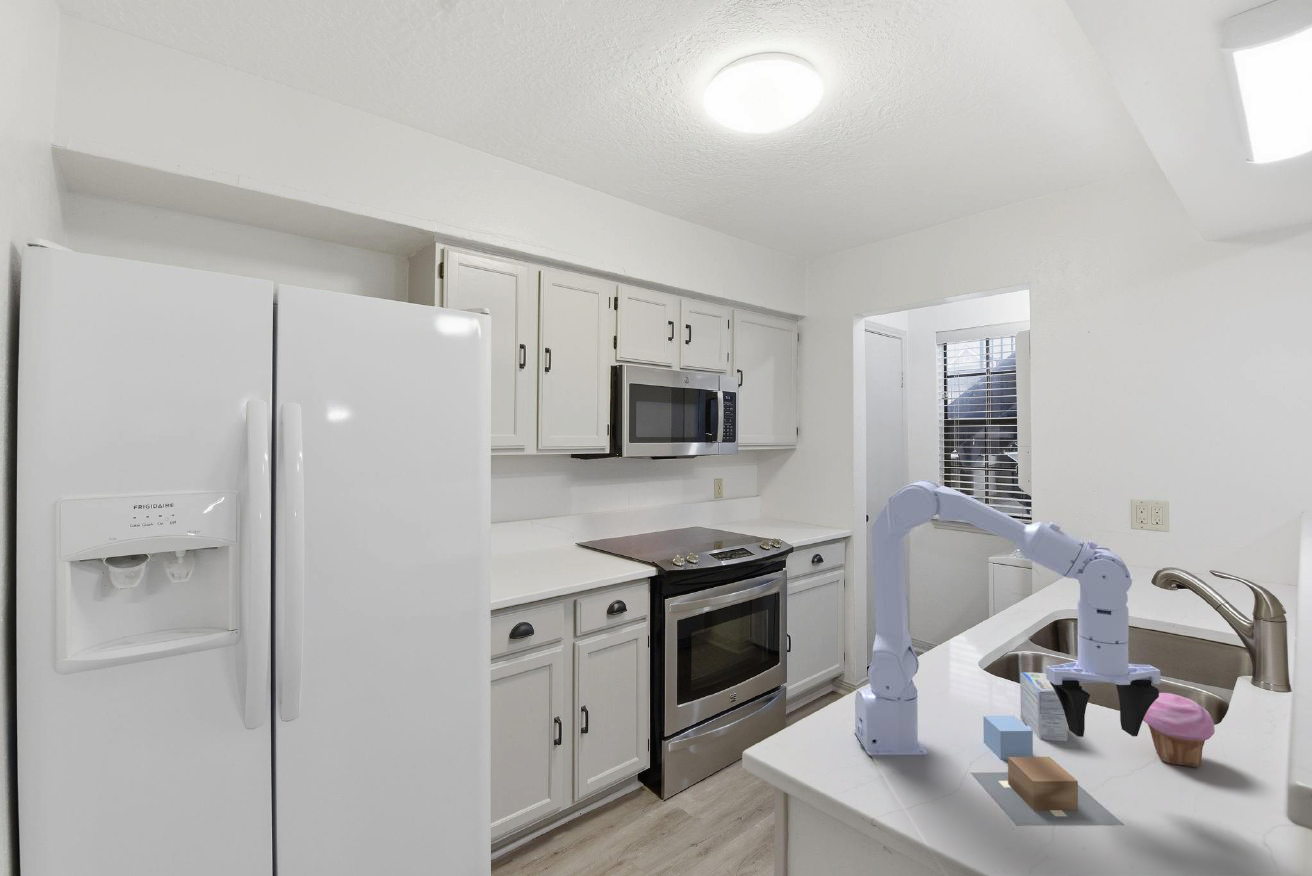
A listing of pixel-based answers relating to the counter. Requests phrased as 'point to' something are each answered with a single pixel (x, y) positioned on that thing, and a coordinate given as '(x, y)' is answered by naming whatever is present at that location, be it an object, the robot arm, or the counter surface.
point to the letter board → (1024, 815)
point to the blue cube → (1008, 737)
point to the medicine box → (1042, 707)
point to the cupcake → (1179, 729)
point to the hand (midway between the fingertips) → (1102, 733)
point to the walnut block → (1042, 783)
